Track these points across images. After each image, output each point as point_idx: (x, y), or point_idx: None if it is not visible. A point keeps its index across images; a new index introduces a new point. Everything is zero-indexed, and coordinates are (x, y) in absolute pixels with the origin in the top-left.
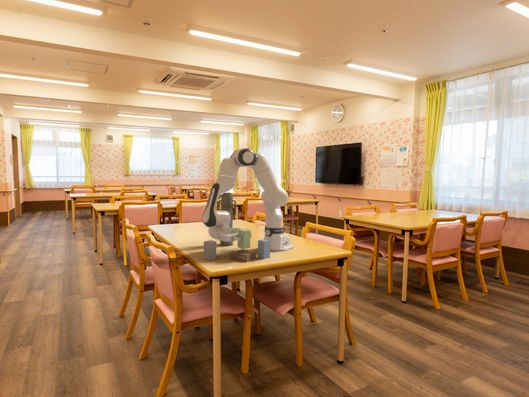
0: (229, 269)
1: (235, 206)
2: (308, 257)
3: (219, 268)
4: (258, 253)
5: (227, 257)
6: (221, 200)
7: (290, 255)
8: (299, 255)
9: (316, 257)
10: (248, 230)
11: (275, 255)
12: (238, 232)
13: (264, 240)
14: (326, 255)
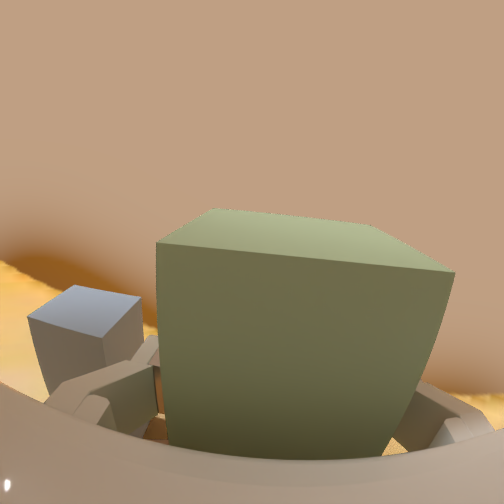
0: (463, 401)
1: None
2: (45, 296)
3: (500, 426)
4: (128, 434)
5: None
6: None
7: (19, 336)
8: (16, 315)
9: (41, 285)
10: (256, 213)
11: (30, 385)
12: (425, 333)
13: (83, 305)
14: (12, 274)
